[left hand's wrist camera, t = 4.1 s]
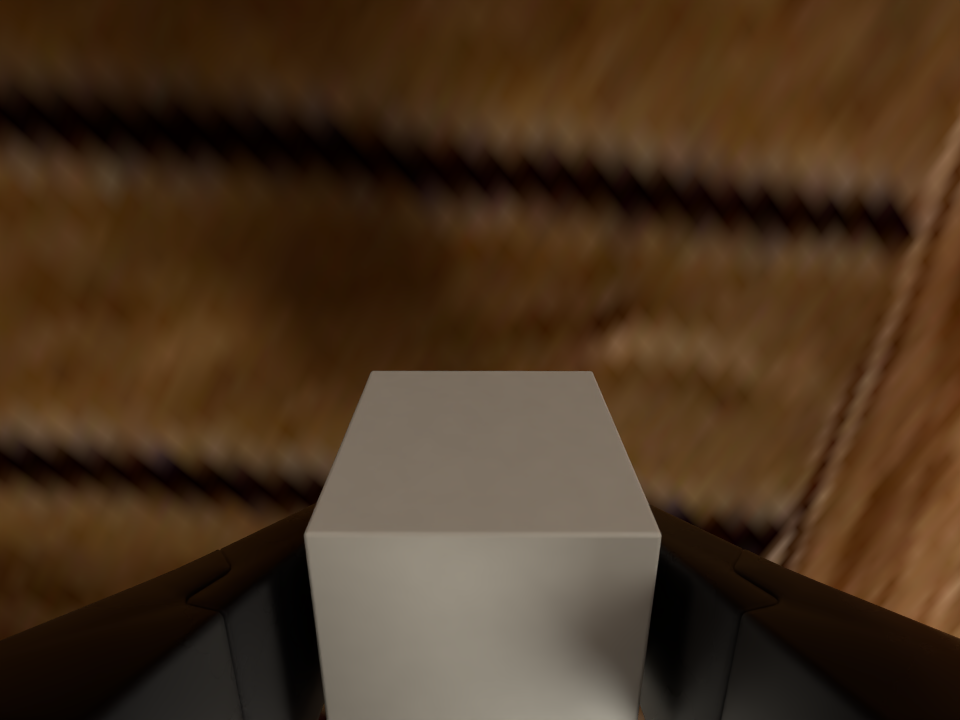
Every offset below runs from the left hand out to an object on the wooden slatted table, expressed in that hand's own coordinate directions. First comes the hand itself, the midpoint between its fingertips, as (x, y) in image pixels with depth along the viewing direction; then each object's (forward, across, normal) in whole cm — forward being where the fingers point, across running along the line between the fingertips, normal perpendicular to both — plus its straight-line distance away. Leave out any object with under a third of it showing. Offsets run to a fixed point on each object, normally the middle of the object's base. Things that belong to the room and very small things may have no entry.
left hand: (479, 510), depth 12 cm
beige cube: (+1, 0, 0) cm, 1 cm away
